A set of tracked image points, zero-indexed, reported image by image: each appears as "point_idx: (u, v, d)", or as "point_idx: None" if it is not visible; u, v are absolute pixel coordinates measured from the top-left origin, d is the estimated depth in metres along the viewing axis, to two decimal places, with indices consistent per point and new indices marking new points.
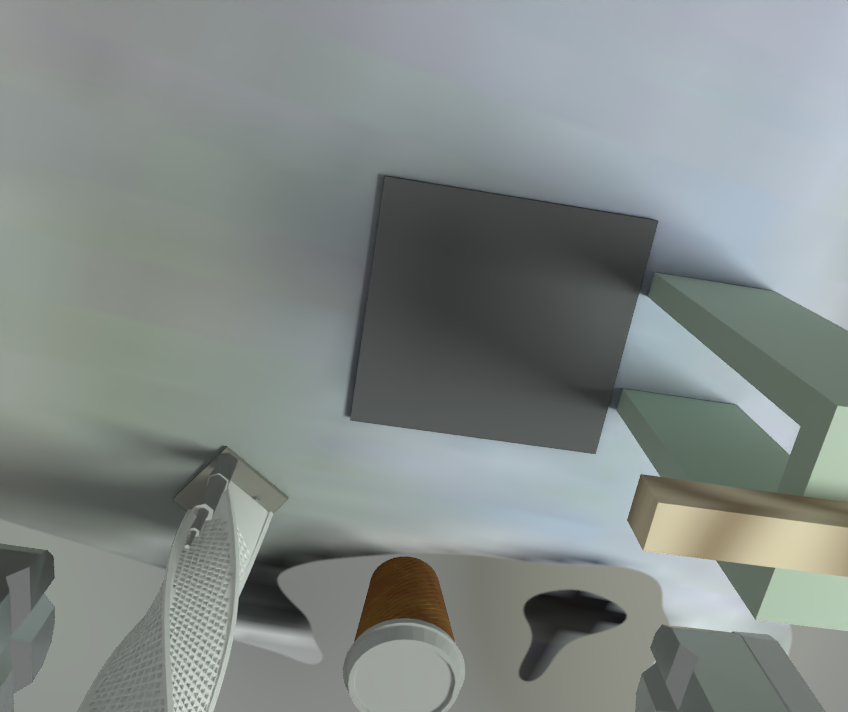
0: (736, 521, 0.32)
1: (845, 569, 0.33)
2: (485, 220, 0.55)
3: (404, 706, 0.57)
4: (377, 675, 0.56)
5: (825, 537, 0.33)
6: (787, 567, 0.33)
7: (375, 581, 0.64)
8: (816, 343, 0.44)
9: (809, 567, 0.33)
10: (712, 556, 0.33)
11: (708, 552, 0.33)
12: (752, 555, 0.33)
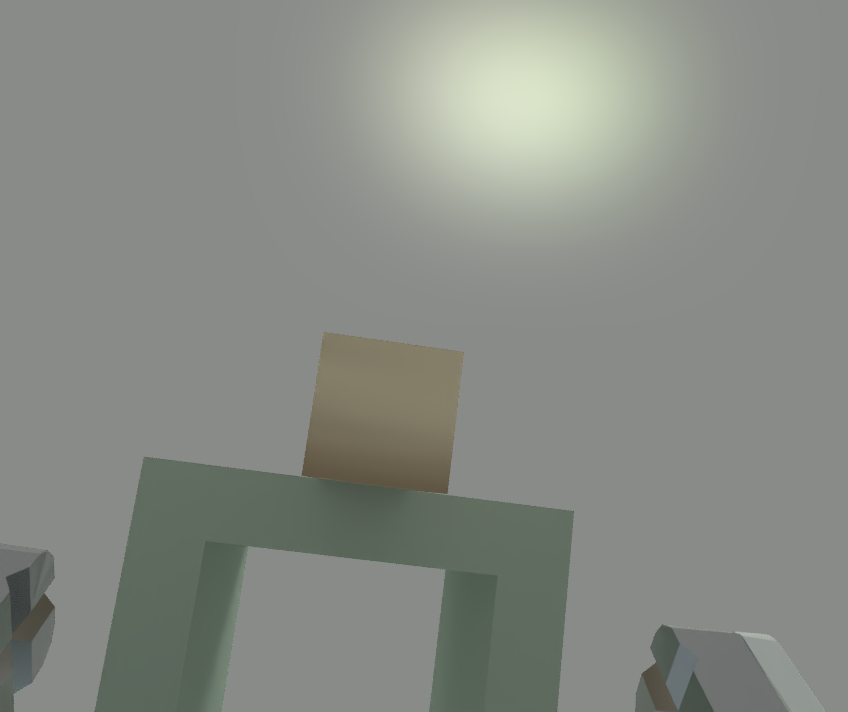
0: None
1: None
2: None
3: None
4: None
5: None
6: None
7: None
8: None
9: None
10: None
11: None
12: None
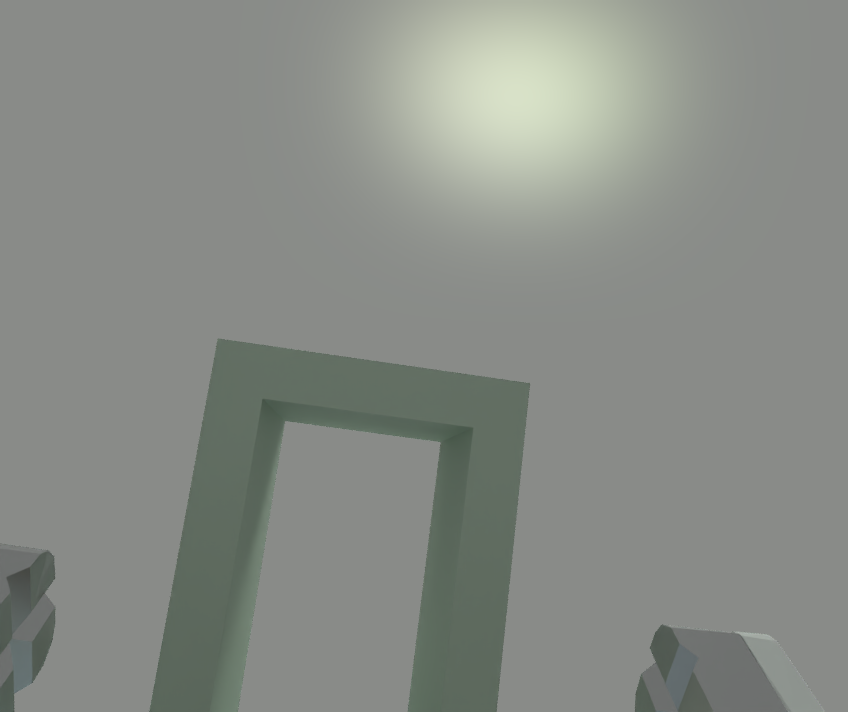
0: None
1: None
2: None
3: None
4: None
5: None
6: None
7: None
8: None
9: None
10: None
11: None
12: None
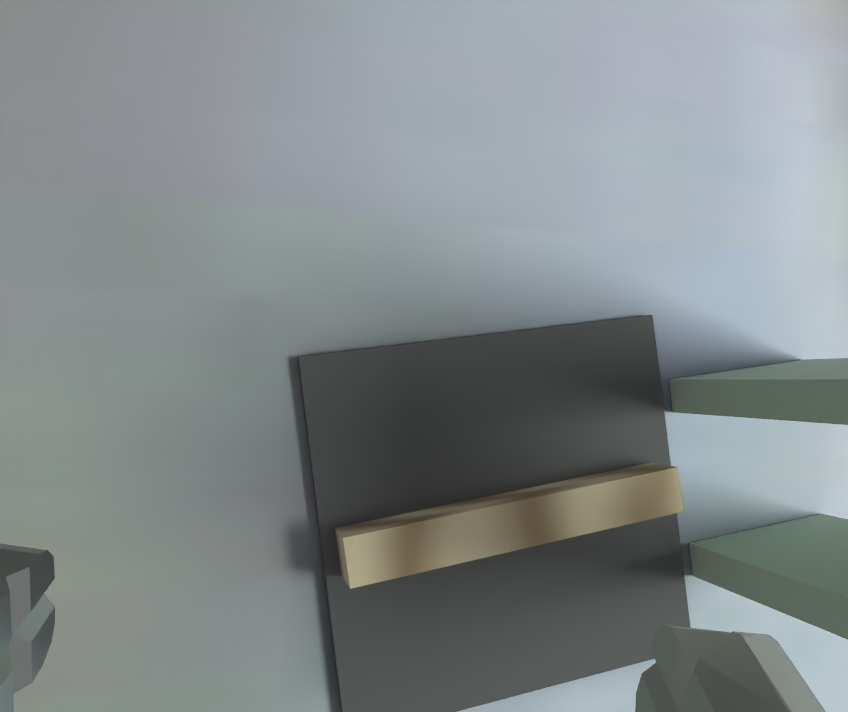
0: (416, 530, 0.37)
1: (526, 540, 0.38)
2: (450, 375, 0.40)
3: None
4: None
5: (495, 518, 0.38)
6: (479, 557, 0.38)
7: None
8: None
9: (496, 550, 0.38)
10: (412, 571, 0.37)
11: (407, 569, 0.36)
12: (445, 557, 0.37)
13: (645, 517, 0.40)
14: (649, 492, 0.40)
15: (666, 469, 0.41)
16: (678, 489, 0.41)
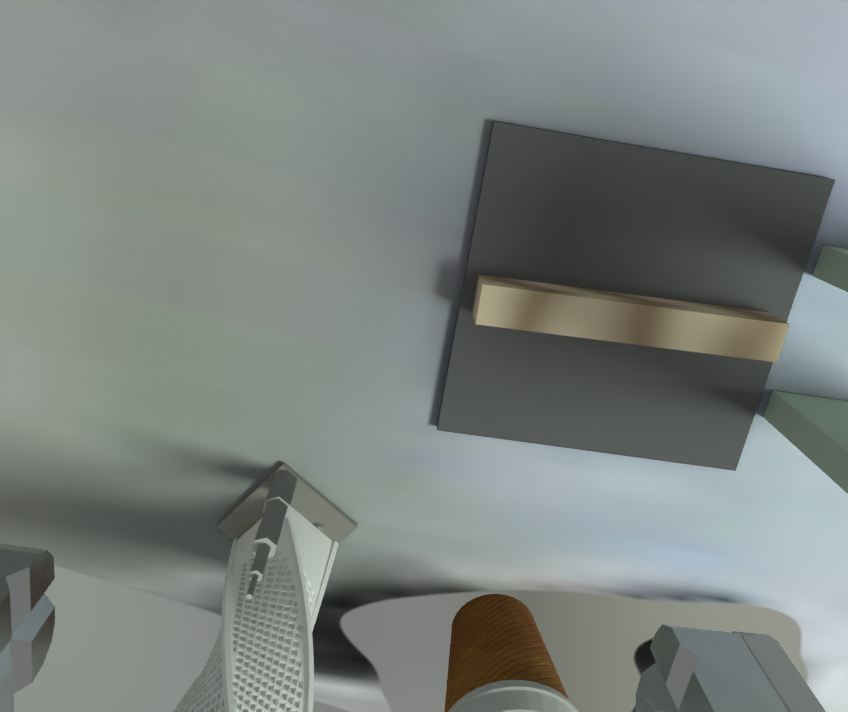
0: (542, 298, 0.44)
1: (629, 337, 0.45)
2: (618, 178, 0.44)
3: None
4: None
5: (610, 311, 0.44)
6: (585, 336, 0.45)
7: (462, 625, 0.53)
8: None
9: (601, 336, 0.45)
10: (528, 328, 0.44)
11: (524, 325, 0.44)
12: (557, 327, 0.44)
13: (740, 354, 0.45)
14: (753, 336, 0.45)
15: (778, 322, 0.45)
16: (781, 343, 0.45)
